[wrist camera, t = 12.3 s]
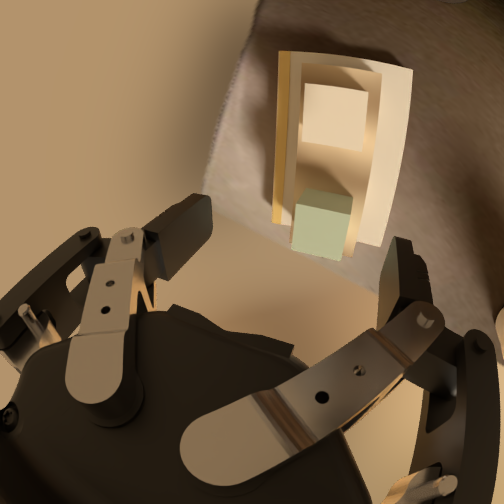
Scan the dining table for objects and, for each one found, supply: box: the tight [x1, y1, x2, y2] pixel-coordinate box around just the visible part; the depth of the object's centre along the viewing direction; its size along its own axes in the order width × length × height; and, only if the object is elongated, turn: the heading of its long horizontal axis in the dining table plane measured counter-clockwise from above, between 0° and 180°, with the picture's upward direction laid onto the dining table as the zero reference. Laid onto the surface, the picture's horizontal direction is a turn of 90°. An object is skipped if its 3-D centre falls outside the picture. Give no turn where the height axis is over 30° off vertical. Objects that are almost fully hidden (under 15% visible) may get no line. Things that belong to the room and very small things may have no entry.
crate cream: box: [302, 83, 368, 152], centre depth 16 cm, size 4×4×4 cm
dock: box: [271, 51, 413, 247], centre depth 24 cm, size 18×12×3 cm, turn 179°
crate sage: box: [291, 188, 353, 261], centre depth 21 cm, size 4×4×4 cm
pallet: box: [289, 63, 382, 257], centre depth 22 cm, size 16×6×4 cm, turn 0°
